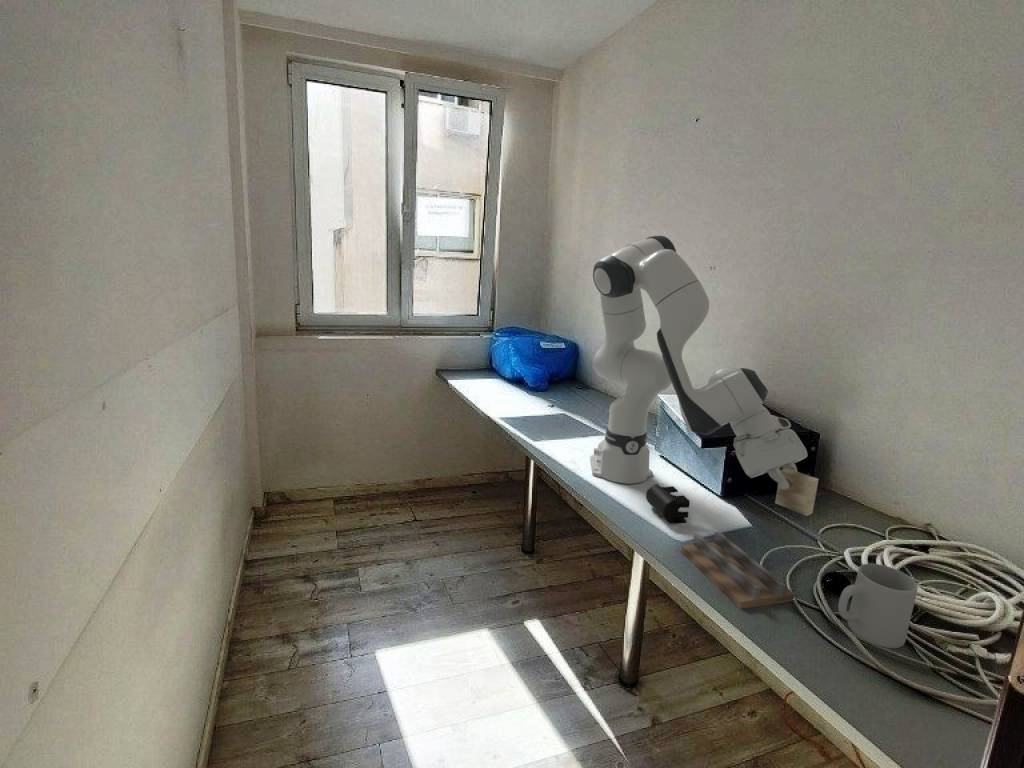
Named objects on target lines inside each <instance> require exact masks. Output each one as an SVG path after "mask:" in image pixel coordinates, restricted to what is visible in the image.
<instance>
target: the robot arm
mask: <svg viewBox="0 0 1024 768" xmlns="http://www.w3.org/2000/svg"><path fill="white" fill-rule="evenodd" d="M592 270H593V271H592V278H593V283H594V286H595V287H596V289H597V291H598V293H599V294H600V306H601V313H602V317H603V318H602V319H603V323H604V324H603V325H604V330H605V338H604V343H603V345H602V346H601V347H600V348H599V349H598V350H597V351H596V353H595V354H594V356H593V360H592V361H593V362H592V366H593V371H594V373H595V374H596V376H599V377H600V378H603V379H605V380H606V381H608V382H610V383H615V384H619V385H623V386H626V391H625V393H624V395H623V396H620V397H618V398H616V399H614V400H613V401H612V402H611V404H610V406H609V413H608V414H609V415H608V425H607V428H606V431H605V436H604V439H603V440H602V441H600V442H599V443H598V445H597V448H596V447H594V448H593V454H592V455H590V456H589V461H590V462H589V463H590V466H591V467H590V468H591V469H590V470H591V473H592V475H593V476H595V477H598V478H602V479H605V480H608V481H611V482H614V483H619V484H627V485H628V484H630V485H631V484H641V483H643V482H645V481H646V480H647V479H648V478H649V477H652V476H654V472H653V470H652V469H650V452H651V451H650V449H649V447H647V446H646V445H647V440H648V436H647V435H648V432H647V423H648V416H649V411H650V408H651V405H652V403H653V401H654V399H655V398H656V397H657V396H658V394H660V393H661V392H663V391H666V389H668V388H669V387H670V386H671V385H672V387H673V389H674V391H675V394H676V395H677V399H678V404H679V410H680V411H679V412H680V413H681V414H680V415H681V417H682V420H683V422H684V423H685V425H686V426H687V427H688V429H689V430H691V432H693V433H696V434H700V435H705V436H706V435H707V436H709V435H711V434H713V433H714V432H716V431H718V430H720V429H721V428H722V427H724V426H725V425H727V424H730V427H731V429H732V431H733V432H734V434H735V435H736V436H735V437H734V438H733V445H732V446H733V447H734V449H735V450H734V452H735V454H736V458H737V459H738V462H739V464H740V465H741V468H742V470H743V471H744V473H745V474H746V476H748V477H749V478H751V479H753V478H756V477H759V476H761V475H765V474H767V475H768V476H769V477H770V478H771V479H772V480H773V481H775V482H776V483H777V484H778V483H779V485H780V486H781V488H782V489H783V490H785V489H787V488H789V487H791V486H792V483H791V482H790V480H789V479H786V478H785V477H784V476H783V475H782V474H781V473H780V472H781V470H782V469H785V468H788V469H791V470H794V471H797V472H798V467H797V465H796V463H798V462H801V461H802V460H804V459H806V458H807V457H808V451H807V448H806V447H805V445H804V444H803V442H802V441H801V439H800V437H799V436H798V434H797V433H796V432H795V431H794V430H793V429H791V427H792V424H791V422H790V421H789V420H788V419H787V418H783V417H779V416H776V415H772V414H771V413H770V411H769V410H768V409H767V407H765V406H764V405H763V404H764V403H765V402H766V401H765V400H766V399H767V395H768V392H769V390H768V388H767V387H766V385H764V383H763V382H762V380H761V379H760V378H759V376H758V375H757V373H756V370H753V369H750V368H745V367H740V368H737V367H734V366H725V367H722V368H720V369H719V370H717V371H715V372H714V373H713V374H711V376H710V377H709V378H708V381H707V384H706V385H703V386H702V387H700V388H694V387H693V385H692V382H691V379H690V376H689V374H688V371H687V368H686V365H685V363H684V360H683V349H684V347H685V345H686V344H687V343H688V340H689V339H690V338H691V337H692V335H694V333H696V332H697V330H698V329H699V328H700V327H701V325H702V324H703V323H704V321H705V319H706V318H707V316H708V313H709V309H710V300H709V297H708V295H707V293H706V290H705V288H704V286H703V284H702V283H701V282H700V280H699V278H698V277H697V275H696V274H695V272H694V271H693V270H692V268H690V266H689V264H687V263H686V261H685V260H684V259H683V257H681V256H680V255H679V254H678V252H677V250H676V247H675V245H674V243H673V242H672V241H671V240H670V238H668V237H666V236H664V235H653V236H649V237H645V239H641V240H638V241H635V242H632V243H630V244H627V245H625V246H624V247H622V248H620V249H618V250H616V251H614V252H612V253H611V254H606V255H605V256H603V257H602V258H600V259H599V260H598V261H597V262H596V263H594V266H593V269H592ZM641 290H644V291H645V292H646V293H647V295H648V296H649V298H650V300H651V302H652V304H653V306H654V307H655V309H656V311H657V312H658V313H657V314H658V315H659V322H660V325H659V326H660V327H659V329H658V330H657V332H656V339H657V344H658V347H659V350H660V352H661V353H659V352H656V351H650V350H645V349H638V348H637V347H635V345H634V341H636V340H638V339H639V338H640V337H642V335H643V334H644V332H645V330H646V328H647V323H646V317H645V309H644V303H643V297H642V291H641Z"/></svg>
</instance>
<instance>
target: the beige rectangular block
mask: <svg viewBox="0 0 1024 768" xmlns="http://www.w3.org/2000/svg"><path fill="white" fill-rule="evenodd" d="M780 470H781V472H780V473H781V474H782V475H783V476H784V477H785V478H786V479H789V480H790V482H791V483H792V486H791V487H789V488H787V489H785V490H783V489H782V488H781V486H780V485H779V483H777V488H776V489H777V490H776V496H775V501H774V504H777V505H779V506H781V507H784V508H786V509H789V510H791V511H794V512H795V513H799V514H801V515H804V516H805V517H808V516H810V515H812V514H813V512H814V507H815V501H816V496H817V490H818V484H819V478H817V477H813V476H811V475H808V474H805V473H802V472H799V471H798V470H797V471H794V470H791V469H788V468H785V469H783V468H781V469H780Z"/></svg>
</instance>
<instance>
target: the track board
mask: <svg viewBox="0 0 1024 768" xmlns="http://www.w3.org/2000/svg"><path fill="white" fill-rule="evenodd" d="M692 541H693V542H692V544H681V550H680V552H681V553H682V554H683V555H684V556H685V557H686V558H687V559H688V560H689V561H691V563H692V564H693V565H694V566H695V567H696V568H697V569H698V570H699V571H701V572H702V574H703V575H705V576H706V578H708V580H710V581H711V582H712V583H713V584H714V585H715V586H716V587H717V588H718V589H719V590H720V591H721V592H722V593H723V594H725V596H726V598H728V599H729V600H731V602H732V603H734V605H736V607H737V608H739V609H741V610H742V609H748V608H755V607H762V606H763V607H764V606H769V605H775V604H782V603H783V604H784V603H788V602H789V603H790V602H793V601H792V600H793V599H794V600H795V596H796V594H795V592H793V591H792V590H790V589H789V588H788V587H787V586H786V585H785V583H784V582H782V581H781V580H780V579H779V578H778V577H776V576H775V575H774V574H773V573H772V572H770V571H769V570H768V569H766V568H765V567H764V566H763V565H761V564H760V563H759V562H758V561H756V560H755V559H754V558H753V557H752V556H751V555H749V554H748V553H746V552H745V551H744V550H743V549H742V548H740V547H739V546H738V545H737V544H735V543H734V542H732V540H730V539H729V538H728V537H726V536H725V535H724V534H723V533H722V532H720V531H715V532H714V538H713V541H711V542H710V541H709V542H708V541H707V540H706V539H705V538H704V537H702V536H701V535H700V533H694V535H693V540H692Z"/></svg>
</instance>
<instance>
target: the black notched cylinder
mask: <svg viewBox="0 0 1024 768" xmlns="http://www.w3.org/2000/svg"><path fill="white" fill-rule="evenodd" d="M678 491H679V490H678V489H677V488H676V487H675V486H661V485H660V483H654V484H652V485H651V486H650V487H649V488H648V489H647V490H646V494H645V498H646V501H647V503H648V504H649V505H650V506H651V507H652V508H653V509H654V510H655V511H656V512H657V513H658V514H659V515H660V516H661V517H662V518H663V519H664V520H665V521H666V522H667V523H668V524H671V525H677V524H678V525H679V524H687V523H688V522H687V519H688V517H689V513H690V512H689V511H682V510H681V511H679V510H680V509H685V508H687V509H688V508H690V500H689V498H687V497H686V496H685V495H675V494H672V493H678Z"/></svg>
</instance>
